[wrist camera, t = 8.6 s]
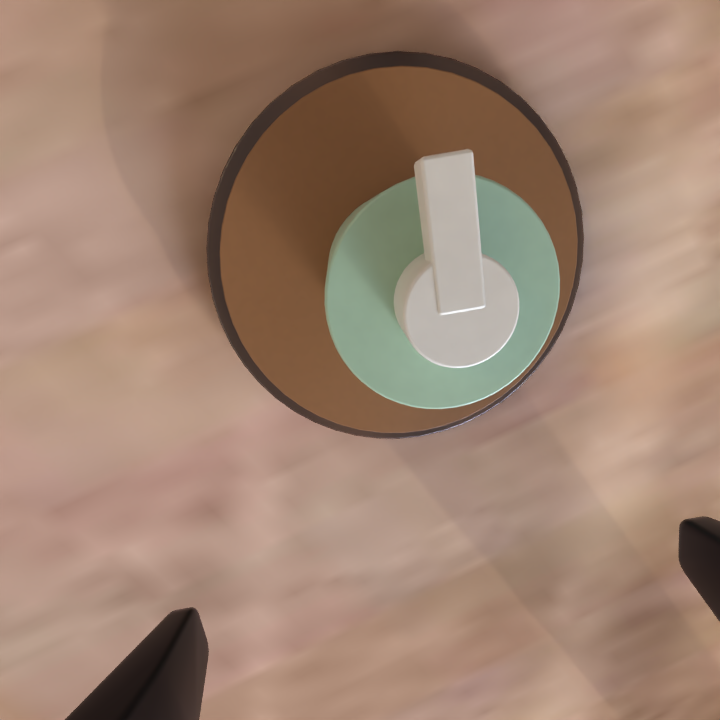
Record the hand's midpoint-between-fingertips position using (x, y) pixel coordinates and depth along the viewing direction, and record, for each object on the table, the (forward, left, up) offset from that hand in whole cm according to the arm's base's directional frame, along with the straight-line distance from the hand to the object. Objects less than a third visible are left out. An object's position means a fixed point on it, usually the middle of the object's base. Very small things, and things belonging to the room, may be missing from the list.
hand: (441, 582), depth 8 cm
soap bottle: (-1, -4, -12) cm, 13 cm away
